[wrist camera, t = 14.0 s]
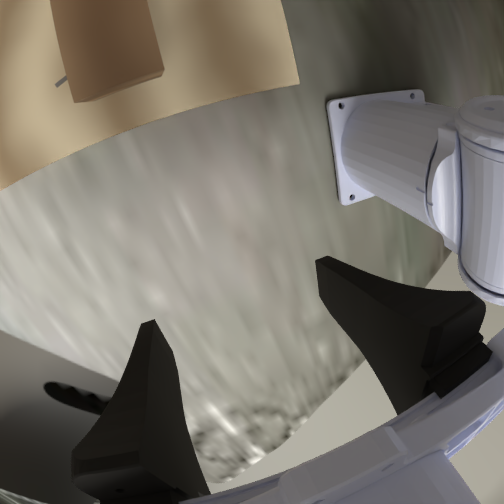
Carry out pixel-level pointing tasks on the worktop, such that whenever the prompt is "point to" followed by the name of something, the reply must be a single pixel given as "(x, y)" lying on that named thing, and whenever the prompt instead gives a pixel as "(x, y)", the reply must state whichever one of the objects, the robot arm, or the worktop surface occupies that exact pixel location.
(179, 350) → the worktop surface
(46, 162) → the board
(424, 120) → the robot arm
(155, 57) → the block
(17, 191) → the worktop surface
